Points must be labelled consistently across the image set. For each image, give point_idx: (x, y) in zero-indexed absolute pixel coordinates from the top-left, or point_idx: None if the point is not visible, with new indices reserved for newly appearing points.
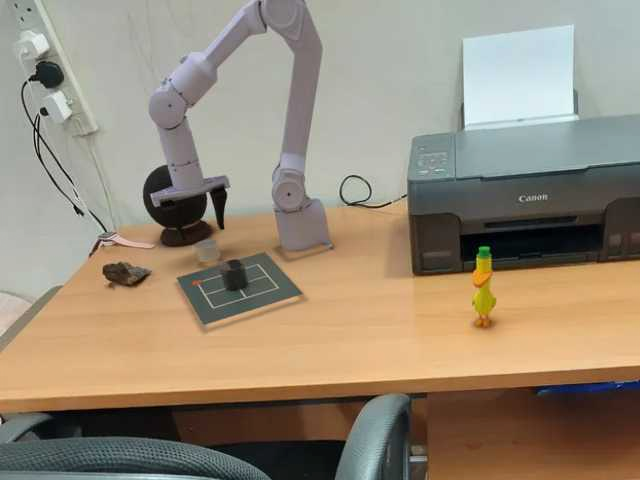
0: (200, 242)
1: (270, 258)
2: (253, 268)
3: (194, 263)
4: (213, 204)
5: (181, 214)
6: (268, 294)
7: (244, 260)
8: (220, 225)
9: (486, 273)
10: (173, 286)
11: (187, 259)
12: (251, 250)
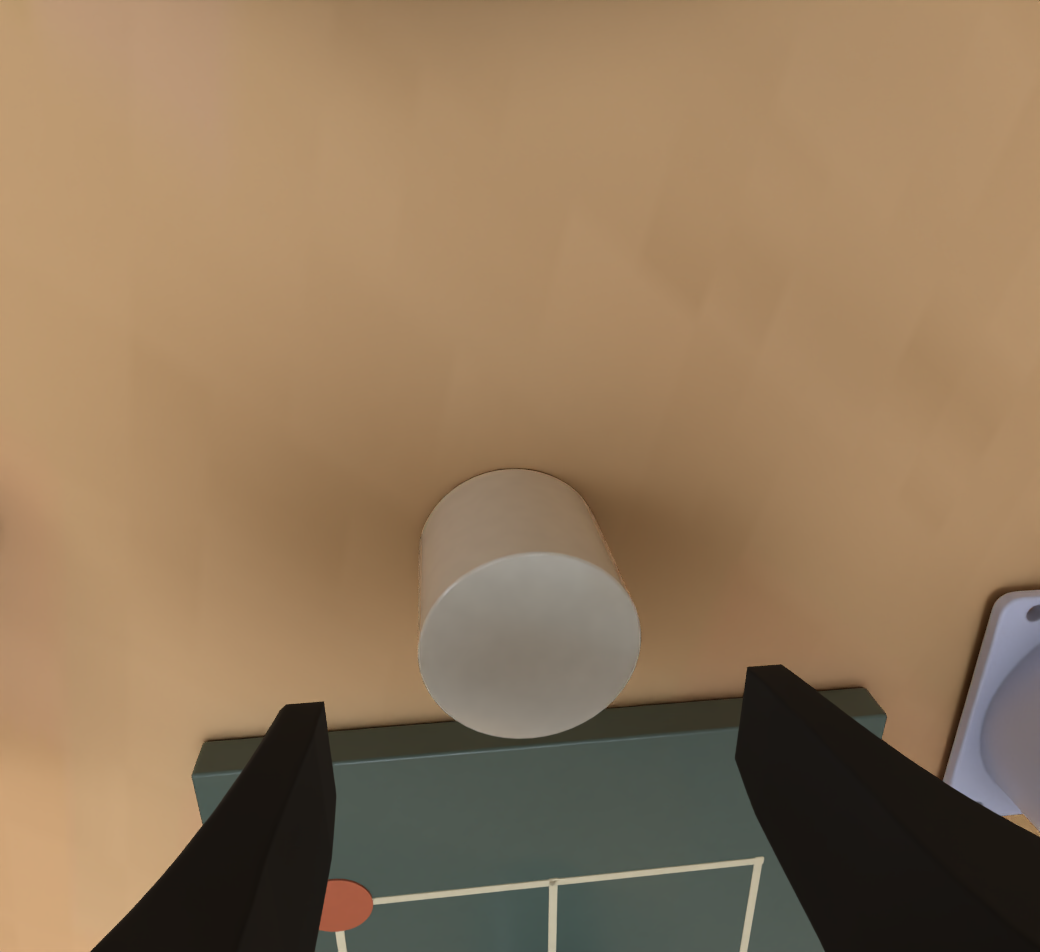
0: (489, 592)
1: None
2: (712, 891)
3: (378, 476)
4: (911, 871)
5: None
6: None
7: (716, 769)
8: (757, 813)
9: None
10: (168, 763)
11: (330, 347)
12: (850, 516)
